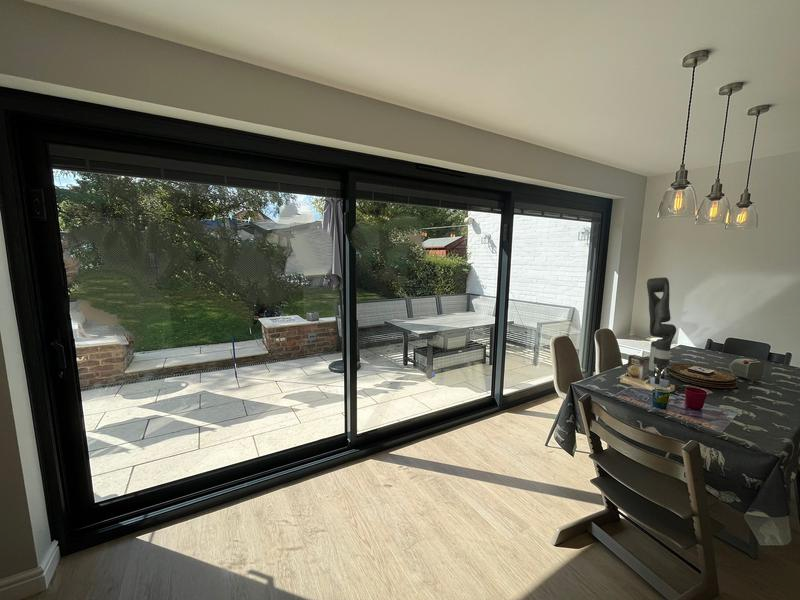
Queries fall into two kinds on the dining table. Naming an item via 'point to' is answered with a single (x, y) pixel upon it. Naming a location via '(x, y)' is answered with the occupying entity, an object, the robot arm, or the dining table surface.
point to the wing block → (662, 383)
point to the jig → (644, 383)
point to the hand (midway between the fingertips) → (659, 382)
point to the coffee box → (637, 367)
